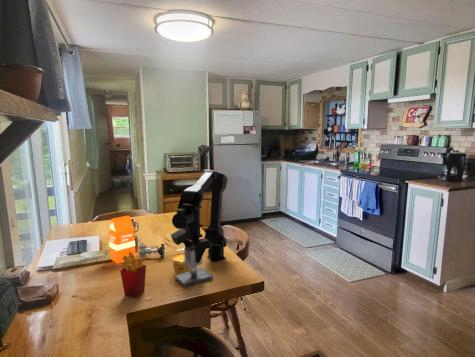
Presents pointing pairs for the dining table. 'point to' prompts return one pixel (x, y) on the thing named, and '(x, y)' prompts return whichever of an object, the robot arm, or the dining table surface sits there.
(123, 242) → the orange juice
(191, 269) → the shaft block
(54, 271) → the dining table surface
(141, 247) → the valve
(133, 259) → the french fries
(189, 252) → the cylinder
